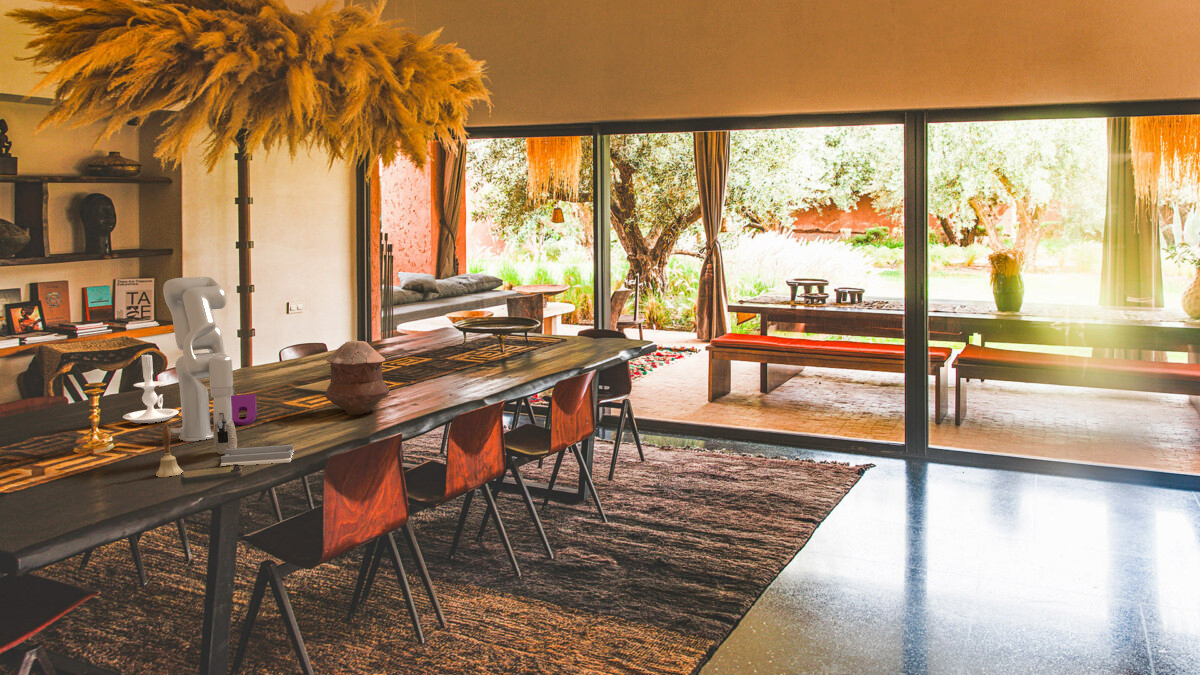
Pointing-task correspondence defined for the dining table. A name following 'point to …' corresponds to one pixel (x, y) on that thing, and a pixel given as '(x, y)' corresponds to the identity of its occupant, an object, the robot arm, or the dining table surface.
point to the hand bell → (168, 458)
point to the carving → (231, 438)
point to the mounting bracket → (244, 408)
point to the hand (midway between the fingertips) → (225, 439)
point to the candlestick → (150, 398)
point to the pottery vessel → (356, 377)
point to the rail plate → (258, 455)
